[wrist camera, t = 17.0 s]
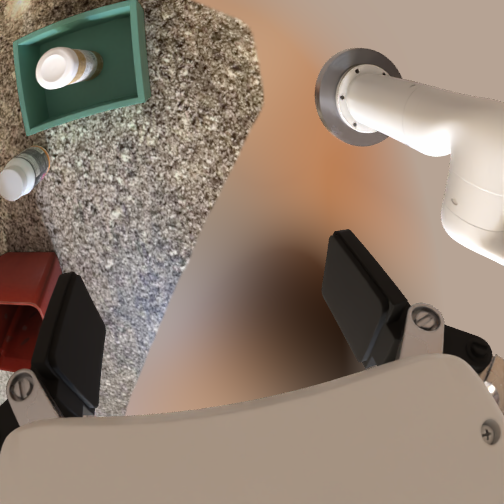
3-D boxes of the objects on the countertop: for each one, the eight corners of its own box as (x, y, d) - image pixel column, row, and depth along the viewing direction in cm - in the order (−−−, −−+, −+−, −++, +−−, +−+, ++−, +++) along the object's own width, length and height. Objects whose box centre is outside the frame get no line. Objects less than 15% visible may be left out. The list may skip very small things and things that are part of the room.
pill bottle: (33, 183, 38) (7, 212, 30) (17, 155, 34) (-13, 179, 26) (57, 166, 38) (33, 192, 30) (41, 137, 34) (12, 157, 26)
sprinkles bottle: (70, 61, 29) (28, 63, 18) (98, 45, 29) (64, 38, 18) (81, 86, 31) (43, 98, 21) (109, 70, 31) (79, 74, 21)
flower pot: (16, 310, 50) (-5, 370, 37) (-12, 238, 40) (-51, 297, 26) (87, 312, 55) (76, 380, 42) (67, 235, 45) (37, 303, 31)
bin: (143, 9, 28) (136, -2, 22) (151, 96, 36) (145, 102, 30) (37, 43, 25) (12, 42, 19) (48, 123, 33) (26, 136, 27)
